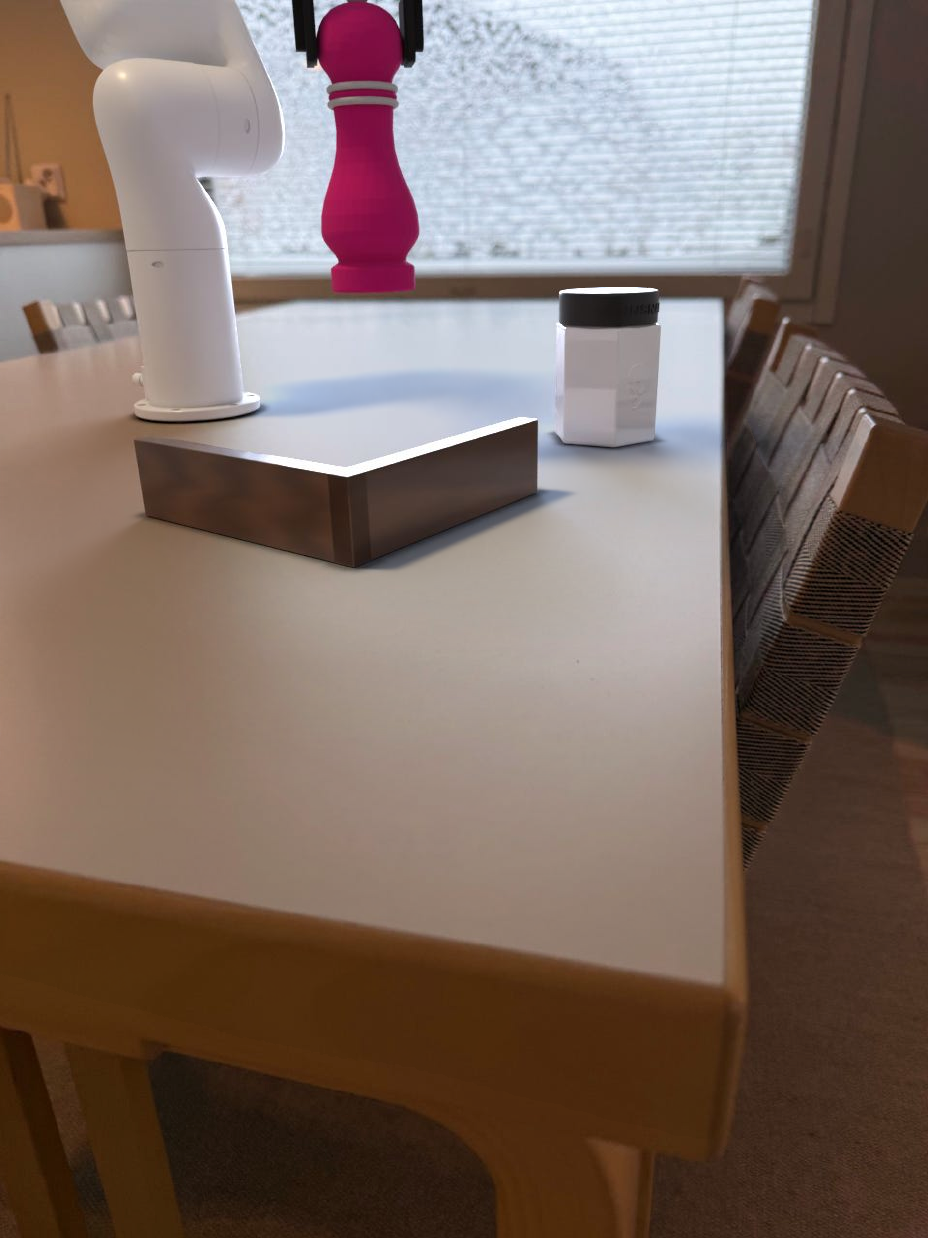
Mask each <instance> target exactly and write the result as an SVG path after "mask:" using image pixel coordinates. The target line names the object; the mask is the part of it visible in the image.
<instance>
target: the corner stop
mask: <svg viewBox="0 0 928 1238" xmlns="http://www.w3.org/2000/svg"><path fill="white" fill-rule="evenodd" d="M133 445H134V451H135V458H136V463H137V469H138V475H139V477H138V478H139V482H140V488H141V495H142V501H143V509H144V515H145V516H147V517H151V518H153V519H158V520H162V521H163V520H164V521H167V522H171V523H175V524H179V525H183V526H187V527H191V528H195V529H199V530H203V531H208V532H211V533H215V534H218V535H223V536H227V537H231V538H235V539H239V540H243V541H246V542H251V543H255V544H259V545H263V546H266V547H267V546H268V547H271V548H275V549H279V550H284V551H286V552H287V551H288V552H291V553H295V554H299V555H303V556H308V557H311V558H316V559H319V560H324V561H327V562H332V563H335V564H339V565H343V566H347V567H351V568H356V567H358V566H360V565H363V564H365V563H368V562H370V561H373V560H376V559H377V558H380V557H382V556H385V555H387V554H390V553H392V552H395V551H397V550H400V549H403V548H404V547H407V546H409V545H412V544H414V543H416V542H419V541H422V540H424V539H426V538H429V537H431V536H434V535H436V534H438V533H441V532H443V531H446V530H449V529H451V528H454V527H456V526H458V525H461V524H464V523H465V522H468V521H471V520H473V519H476V518H477V517H480V516H482V515H485V514H487V513H490V512H493V511H494V510H497V509H501V508H502V507H504V506H507V505H509V504H512V503H514V502H516V501H519V500H521V499H524V498H526V497H529V496H531V495H533V494H536V493H538V477H539V476H538V475H539V474H538V472H539V471H538V470H539V468H538V466H539V465H538V464H539V462H538V461H539V419H537V418H529V417H517V418H513V419H509V420H506V421H502V422H499V423H495V424H493V425H488V426H485V427H482V428H478V429H475V430H472V431H468V432H465V433H462V434H458V435H455V436H451V437H447V438H444V439H441V440H437V441H434V442H430V443H427V444H424V445H420V446H417V447H413V448H410V449H406V450H403V451H400V452H396V453H393V454H389V455H386V456H383V457H379V458H376V459H372V460H368V461H365V462H362V463H358V464H355V465H352V466H348V467H343V466H336V465H330V464H325V463H318V462H312V461H307V460H301V459H294V458H289V457H283V456H278V455H271V454H265V453H260V452H254V451H247V450H241V449H236V448H229V447H225V446H224V447H223V446H218V445H213V444H207V443H200V442H195V441H189V440H181V439H175V438H171V437H164V436H159V435H154V434H153V435H147V436H143V437H139V438H138V437H137V438H134V439H133Z"/></svg>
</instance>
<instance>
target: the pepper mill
mask: <svg viewBox="0 0 928 1238" xmlns="http://www.w3.org/2000/svg"><path fill="white" fill-rule="evenodd" d="M368 1H369V0H346V2H343V3H340V4H337V5H335V6H333V7H332V8H331V9H329V10H328V12H326V14H324V16H322V19H321V20H320V22H319V25H318V27H317V30H316V41H317V55H318V64H319V66H320V67H321V69H322V70H323V71H324V73H325V74H326V75H327V77H328V79H329V80H330V83H331V84H329V85H328V86H327V87H326V93H327V94H328V102H327V108H328V109H329V110H331V111H333V116H334V124H335V125H334V126H335V133H336V134H335V154H334V155H335V156H334V162H333V167H332V171H331V175H330V178H329V181H328V185H327V189H326V193H325V195H324V198H323V201H322V202H323V203H322V210H321V217H320V218H321V219H320V233H321V237H322V240H323V242H324V243H325V245H326V246H327V247H328V248H329V250H330V251H331V252H332V253H333V254H334V256H335V257H336V259H337V263H336V264H334V265H333V266H331V268H330V275H331V276H330V277H331V278H330V279H331V290H332V293H333V292H334V293H336V294H380V293H384V294H385V293H399V292H410V291H414V290H415V289H416V271H415V269H416V267H415V266H414V264H413V263H411V262H409V261H408V260H407V257H408V255H409V253H410V251H412V249H413V247H414V246H415V244H416V243H417V242H418V239H419V237H420V222H419V213H418V210H417V206H416V203H415V200H414V197H413V194H412V193H411V190H410V188H409V186H408V183H407V181H406V179H405V176H404V174H403V172H402V169H401V168H402V167H401V166H400V163H399V159H398V155H397V151H396V145H395V135H394V134H395V133H394V110H396V109H397V108H398V107H399V106H400V103H399V101H398V100H397V99H398V95H397V93H398V92H399V86H397V85H396V84H394V83H393V81H394V78H395V76H396V74H397V73H398V71H399V69H400V68H401V63H402V60H403V39H402V35H401V31H400V29H399V23H397V20H396V19H395V18H394V16H393V15H392V14H391V13H390V12H388V11H387V10H386V9H385V8H383V7H382V6H380V5H378V4H375V3H372V2H368Z"/></svg>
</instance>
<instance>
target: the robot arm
mask: <svg viewBox="0 0 928 1238" xmlns="http://www.w3.org/2000/svg"><path fill="white" fill-rule="evenodd" d="M59 2H60V5H61V6H62V9H63V12H64V14H65V15H66V18H67V21H68V23H69V25H70V28H71V30H72V32H73V34H74V36H75V39H76V40H77V42H78V44H79V46H80V48H81V50H82V51H83V53H84V54H85V56H86V57H87V59H88V60H89V61H90V62H91V63H92V64H93V65H95V66H96V67H97V68H99V69H100V70H102V72H101V73H100V74H99V75H98V77H97V79H96V80H95V83H94V87H93V91H92V109H93V115H94V122H95V126H96V129H97V132H98V133H97V134H98V136H99V138H100V143H101V145H102V148H103V152H104V154H105V155H104V156H105V157H106V160H107V164H108V167H109V170H110V174H111V178H112V181H113V182H112V183H113V187H114V190H115V195H116V200H117V204H118V209H119V215H120V220H121V226H122V232H123V239H124V245H125V251H126V256H127V263H128V270H129V278H130V284H131V290H132V295H133V302H134V303H133V304H134V309H135V310H134V311H135V316H136V323H137V329H138V336H139V342H140V350H141V356H142V362H143V365H141V366H140V371H141V372H135V373H134V374H133V375H132V376H131V381H132V384H133V385H134V386H136V387H141V388H143V391H144V398H143V399H140V400H138V401H136V402H135V403H134V405H133V408H134V409H133V410H134V415H135V416H136V417H138V418H139V419H144V420H149V421H157V422H194V421H195V422H196V421H197V422H198V421H209V420H210V421H211V420H218V419H225V418H226V419H227V418H232V417H237V416H242V415H246V414H249V413H253V412H255V411H256V410H257V411H258V410H259V408H261V400H260V399H261V398H260V396H259V395H257V394H256V393H252V392H248V391H244V383H243V372H242V366H241V355H240V345H239V338H238V328H237V319H236V312H235V311H236V310H235V301H234V293H233V285H232V284H233V283H232V275H231V266H230V256H229V249H228V242H227V241H228V239H227V234H226V228H225V224H224V221H223V219H222V217H221V214H220V212H219V210H218V209H217V207H216V205H215V203H214V202H213V200H212V199H211V197H210V196H209V194H208V193H207V192H206V190H205V189H204V187H203V185H202V184H201V182H200V181H199V180H198V178H235V179H236V178H238V179H239V178H241V179H242V178H246V179H247V178H256V177H260V176H264V175H266V174H268V173H270V172H271V171H272V170H273V169H274V168H275V167H276V166H277V165H278V164H279V162H280V160H281V158H282V155H283V154H284V153H283V152H284V148H285V139H286V134H285V131H286V130H285V122H284V116H283V112H282V108H281V104H280V101H279V98H278V95H277V92H276V90H275V86H274V85H273V82H272V79H271V78H270V75H269V72H268V71H267V68H266V66H265V63H264V61H263V59H262V56H261V55H260V52H259V50H258V48H257V45H256V43H255V41H254V39H253V36H252V34H251V31H250V29H249V27H248V25H247V23H246V21H245V18H244V16H243V13H242V12H241V10H240V8H239V5H238V3H237V2H236V0H59ZM314 3H315V2H314V0H291V9H292V10H291V11H292V22H293V33H294V36H293V37H294V46H295V52H296V53H305V59H306V68H307V69H315V67H317V66H318V63H319V61H318V55H317V41H316V36H317V30H316V16H315V4H314ZM423 5H424V4H423V0H399V2H398V27H399V29H400V31H401V35H402V39H403V60H402V63H401V66H402V67H403V68H404V69H412V68H413V66H414V65H415V63H416V61H417V53H423V52H424V50H425V49H424V48H425V34H424V32H425V31H424V30H425V29H424V7H423ZM401 66H400V67H401Z"/></svg>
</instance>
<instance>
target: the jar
mask: <svg viewBox="0 0 928 1238" xmlns="http://www.w3.org/2000/svg"><path fill="white" fill-rule="evenodd" d="M660 305H661V304H660V290H658V289H656V288H651V287H648V288H647V287H585V288H569V289H563V290H560V291H559V293H558V323H556V337H555V338H556V343H555V346H556V347H555V349H556V350H555V400H554V401H555V402H554V403H555V406H554V408H555V411H554V432H555V434H556V435H557V436H558V437H559V439H560V440H561V442H562V443H564V444H567V445H579V446H592V447H604V448H617V447H625V446H630V445H635V444H640V443H641V444H642V443H645V442H646V443H647V442H650V441H653V440H654V439H655V437H656V419H657V405H658V404H657V401H658V386H659V385H658V384H659V369H660V368H659V367H660V352H661V351H660V350H661V336H662V335H661V334H662V333H661V332H662V326H661V324H659V323H658V321H659V320H658V319H659V312H660Z"/></svg>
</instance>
